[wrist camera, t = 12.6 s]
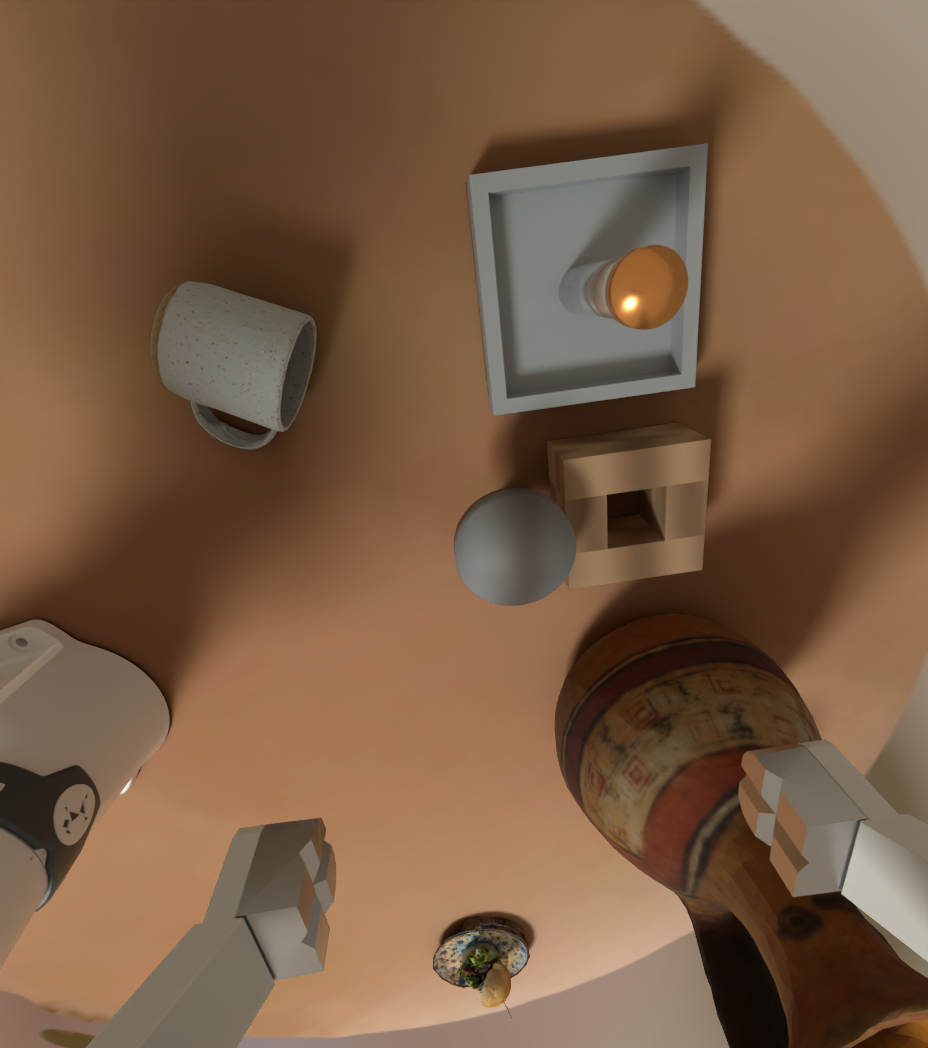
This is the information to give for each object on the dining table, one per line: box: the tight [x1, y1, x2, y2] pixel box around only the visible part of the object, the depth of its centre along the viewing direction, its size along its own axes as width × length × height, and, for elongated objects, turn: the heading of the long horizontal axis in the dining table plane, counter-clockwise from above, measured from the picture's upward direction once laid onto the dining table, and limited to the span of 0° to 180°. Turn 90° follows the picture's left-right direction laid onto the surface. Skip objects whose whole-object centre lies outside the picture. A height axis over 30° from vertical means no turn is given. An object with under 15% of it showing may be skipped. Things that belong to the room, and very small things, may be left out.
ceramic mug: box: [150, 281, 317, 450], centre depth 33 cm, size 10×8×7 cm
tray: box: [466, 143, 708, 416], centre depth 34 cm, size 14×14×2 cm
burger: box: [433, 917, 530, 1016], centre depth 61 cm, size 12×12×8 cm
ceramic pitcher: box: [555, 613, 928, 1048], centre depth 36 cm, size 20×20×30 cm
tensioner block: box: [454, 422, 711, 606], centre depth 38 cm, size 18×10×8 cm, turn 97°
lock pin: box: [559, 245, 688, 330], centre depth 30 cm, size 4×4×12 cm
